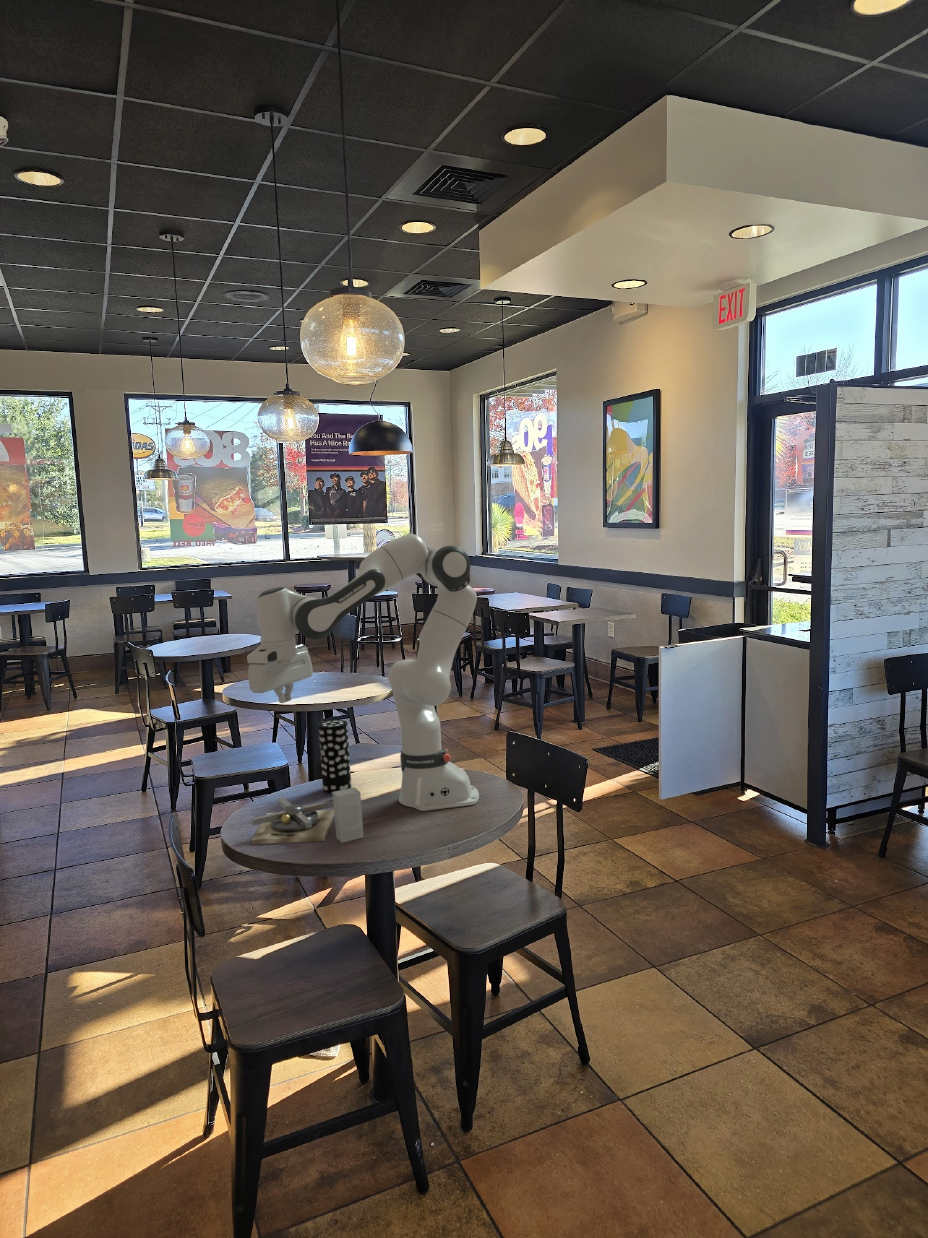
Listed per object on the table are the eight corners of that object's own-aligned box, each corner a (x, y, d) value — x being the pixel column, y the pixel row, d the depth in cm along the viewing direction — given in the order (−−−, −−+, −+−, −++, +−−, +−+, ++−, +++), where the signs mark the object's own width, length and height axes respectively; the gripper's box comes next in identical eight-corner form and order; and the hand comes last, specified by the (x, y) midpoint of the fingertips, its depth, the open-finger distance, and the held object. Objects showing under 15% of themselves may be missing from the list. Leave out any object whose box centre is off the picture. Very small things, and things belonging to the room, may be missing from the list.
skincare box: (358, 832, 202) (355, 786, 201) (363, 838, 198) (361, 791, 197) (335, 837, 199) (332, 791, 198) (340, 843, 196) (337, 796, 194)
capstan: (280, 809, 216) (279, 794, 216) (337, 812, 212) (336, 797, 212) (249, 833, 200) (248, 817, 200) (310, 837, 196) (309, 821, 196)
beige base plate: (334, 814, 216) (334, 809, 215) (324, 840, 198) (324, 835, 198) (268, 817, 215) (267, 812, 215) (251, 844, 197) (251, 838, 197)
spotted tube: (354, 784, 239) (350, 719, 237) (347, 794, 231) (343, 727, 228) (327, 785, 240) (322, 720, 237) (319, 794, 232) (315, 727, 229)
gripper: (297, 642, 218) (303, 691, 220) (241, 657, 201) (248, 711, 203) (315, 642, 215) (320, 692, 217) (259, 658, 198) (266, 712, 200)
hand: (285, 701), depth 210 cm, fingers closed
